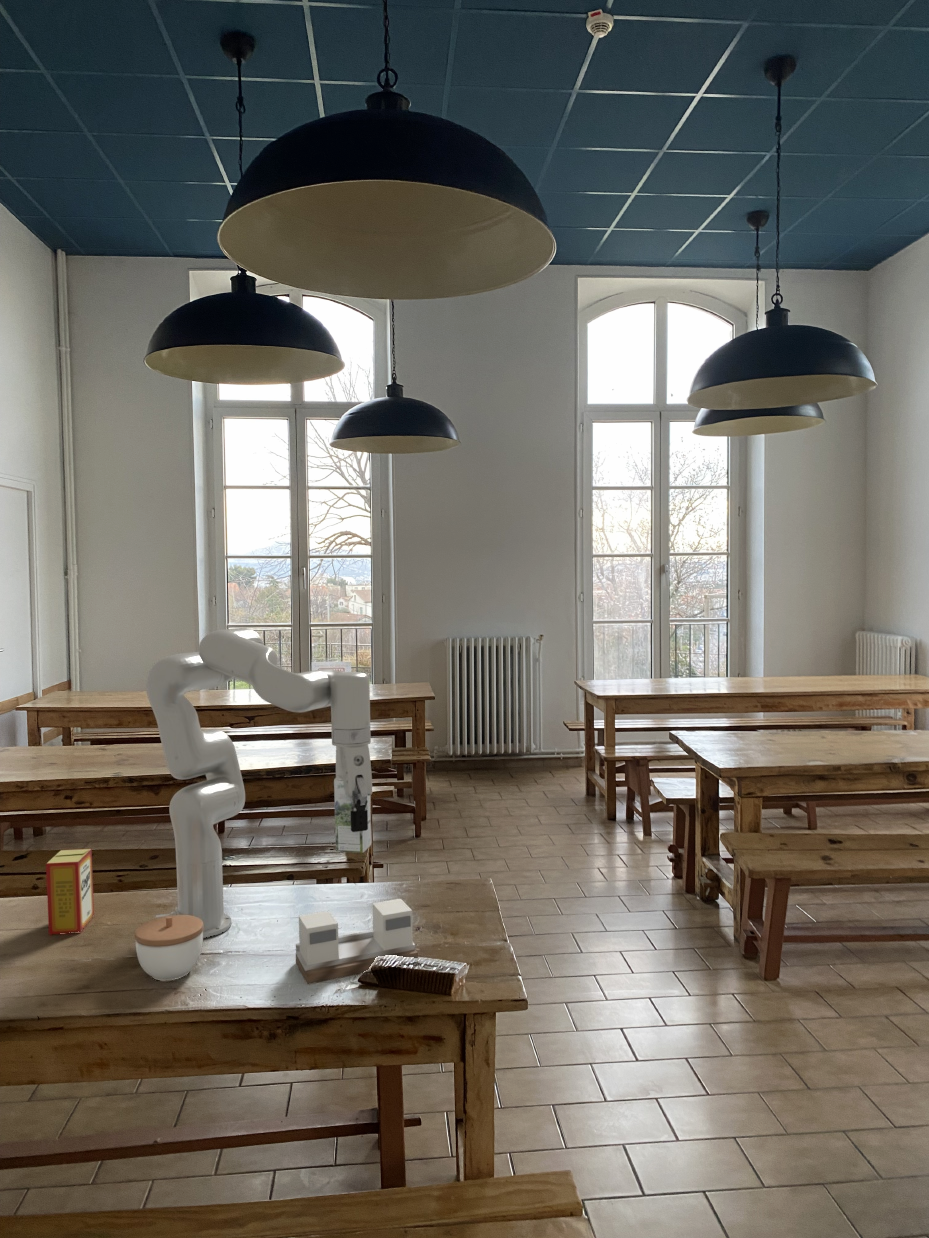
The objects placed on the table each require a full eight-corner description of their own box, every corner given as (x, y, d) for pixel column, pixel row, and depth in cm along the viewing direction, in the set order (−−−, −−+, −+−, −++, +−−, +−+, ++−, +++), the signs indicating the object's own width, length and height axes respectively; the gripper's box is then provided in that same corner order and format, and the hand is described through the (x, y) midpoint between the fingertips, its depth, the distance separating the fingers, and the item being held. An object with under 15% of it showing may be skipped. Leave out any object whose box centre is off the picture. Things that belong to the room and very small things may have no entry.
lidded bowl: (135, 965, 174) (133, 910, 174) (202, 954, 179) (200, 901, 178) (136, 993, 163) (134, 934, 162) (207, 980, 167) (205, 923, 167)
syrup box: (372, 844, 175) (370, 772, 174) (363, 853, 169) (361, 779, 169) (344, 843, 176) (343, 771, 175) (334, 852, 170) (333, 778, 170)
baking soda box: (80, 933, 191) (77, 860, 190) (49, 935, 190) (45, 861, 189) (94, 916, 200) (91, 846, 199) (64, 918, 199) (61, 848, 199)
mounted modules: (308, 965, 166) (307, 929, 166) (299, 950, 173) (298, 915, 173) (413, 945, 174) (412, 910, 174) (401, 931, 181) (400, 898, 181)
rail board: (307, 984, 165) (306, 963, 165) (295, 962, 174) (295, 943, 174) (418, 962, 174) (417, 942, 173) (401, 942, 183) (401, 924, 183)
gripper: (383, 741, 165) (385, 834, 166) (357, 727, 181) (359, 811, 182) (344, 745, 162) (346, 839, 163) (321, 730, 178) (323, 816, 179)
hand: (353, 824), depth 172 cm, fingers closed on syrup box, 7 cm apart
